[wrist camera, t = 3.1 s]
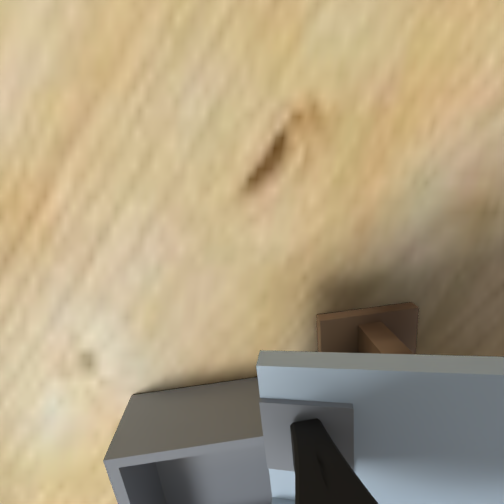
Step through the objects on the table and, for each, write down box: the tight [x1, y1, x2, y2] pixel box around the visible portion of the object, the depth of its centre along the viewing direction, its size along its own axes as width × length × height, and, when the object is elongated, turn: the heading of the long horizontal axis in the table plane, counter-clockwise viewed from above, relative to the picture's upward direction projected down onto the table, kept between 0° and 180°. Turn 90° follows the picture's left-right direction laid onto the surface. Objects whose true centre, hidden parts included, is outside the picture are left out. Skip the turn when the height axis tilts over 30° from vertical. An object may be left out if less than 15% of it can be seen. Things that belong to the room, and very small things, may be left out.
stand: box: [316, 302, 419, 354], centre depth 14 cm, size 5×10×5 cm, turn 6°
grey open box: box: [103, 377, 272, 504], centre depth 15 cm, size 10×10×4 cm
